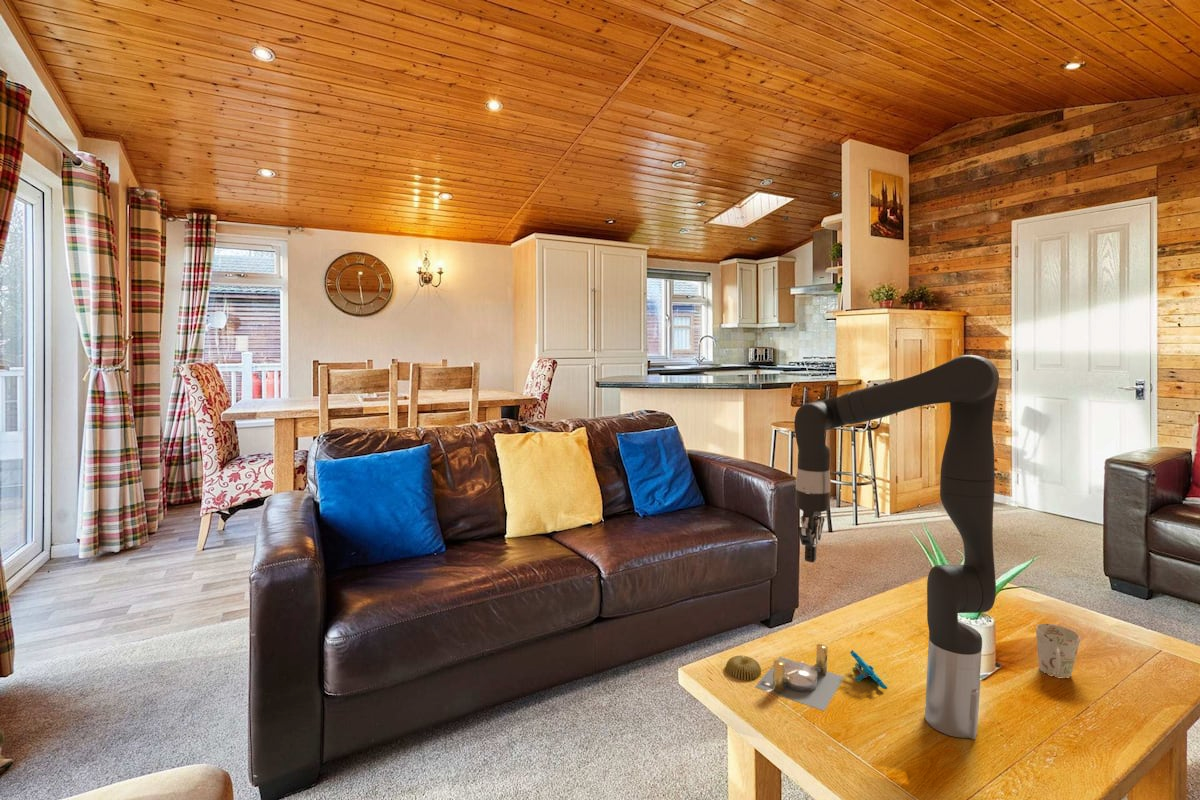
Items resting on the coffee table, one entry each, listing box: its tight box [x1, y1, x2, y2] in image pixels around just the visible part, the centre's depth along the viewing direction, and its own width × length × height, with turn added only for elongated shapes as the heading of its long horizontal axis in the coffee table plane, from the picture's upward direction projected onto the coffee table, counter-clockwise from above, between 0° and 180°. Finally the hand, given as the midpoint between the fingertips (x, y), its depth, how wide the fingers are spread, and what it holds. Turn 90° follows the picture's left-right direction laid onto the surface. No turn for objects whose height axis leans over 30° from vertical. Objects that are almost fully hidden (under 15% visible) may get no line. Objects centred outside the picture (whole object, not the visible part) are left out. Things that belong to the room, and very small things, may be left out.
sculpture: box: [725, 655, 762, 681], centre depth 141 cm, size 8×4×8 cm
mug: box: [1035, 623, 1081, 678], centre depth 141 cm, size 8×13×10 cm, turn 148°
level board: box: [755, 656, 845, 712], centre depth 136 cm, size 15×18×2 cm
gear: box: [849, 649, 888, 689], centre depth 137 cm, size 11×6×10 cm
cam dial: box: [773, 643, 829, 692], centre depth 136 cm, size 16×8×6 cm, turn 121°
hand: (810, 560), depth 141 cm, fingers closed
